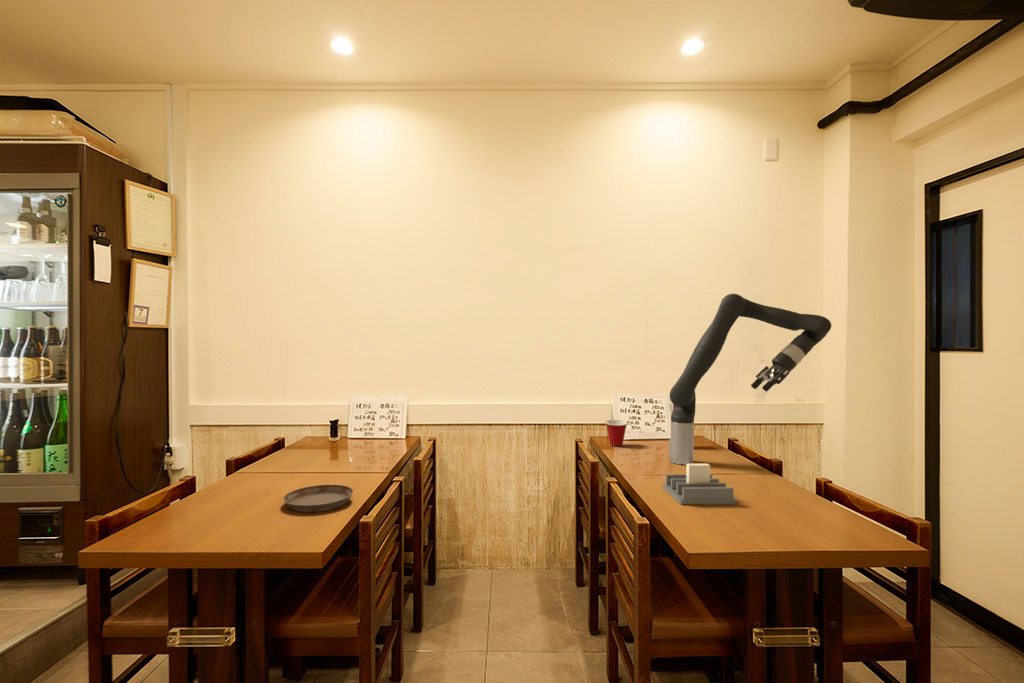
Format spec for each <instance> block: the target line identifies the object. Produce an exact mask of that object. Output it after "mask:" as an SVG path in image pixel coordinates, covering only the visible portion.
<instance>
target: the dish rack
mask: <svg viewBox="0 0 1024 683" xmlns="http://www.w3.org/2000/svg"><path fill="white" fill-rule="evenodd" d="M662 490H664V491H665V492H666V491H667V492H668V493H669V494H670V495H671V496H670V495H669V494H668V493H667V492H666V493H667V494H668V495H669V496H670V497H671V498H673V499H674V500H675V501H676V502H677V501H678V502H679V503H678V502H677V503H678V504H679V505H681V504H703V505H737V504H738V499H736V498H735V497H734V488H733V487H731V486H730V487H729V486H727V484H726V483H725V482H720V479H719V478H718V477H713V474H711V473H710V483H686V474H685V473H680V474H679V473H675V474H674V473H673V474H672V473H671V474H669V473H668V474H665V483H662Z"/></svg>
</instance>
